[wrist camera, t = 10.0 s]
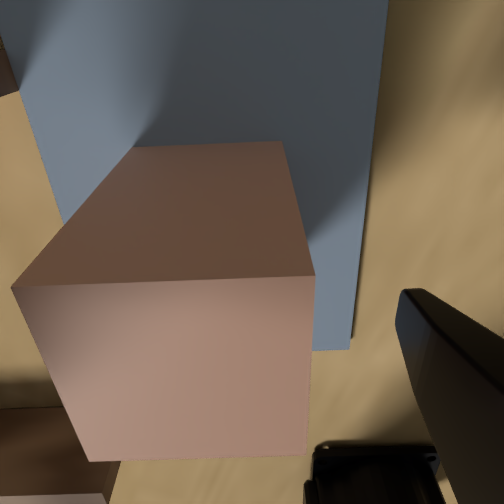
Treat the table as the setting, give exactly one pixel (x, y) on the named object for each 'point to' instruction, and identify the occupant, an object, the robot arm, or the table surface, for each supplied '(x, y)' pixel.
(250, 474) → the table surface
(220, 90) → the slate mat
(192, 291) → the terracotta block
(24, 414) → the brown open boxy piece
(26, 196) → the table surface
